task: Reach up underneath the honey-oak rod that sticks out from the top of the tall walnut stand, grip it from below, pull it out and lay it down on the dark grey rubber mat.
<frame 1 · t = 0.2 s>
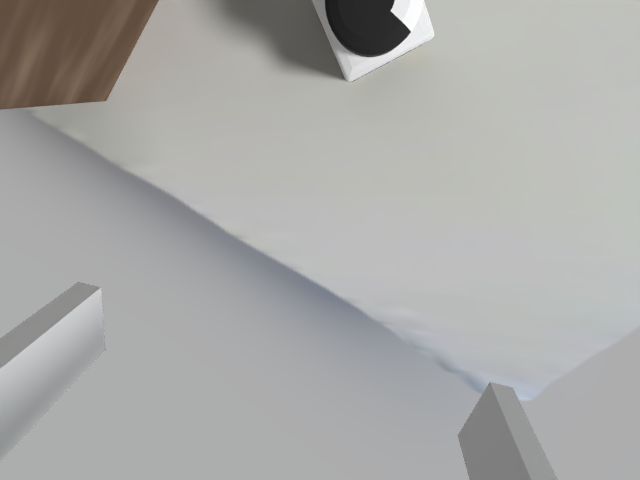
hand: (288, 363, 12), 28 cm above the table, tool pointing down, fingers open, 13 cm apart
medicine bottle: (369, 25, 32), on the table
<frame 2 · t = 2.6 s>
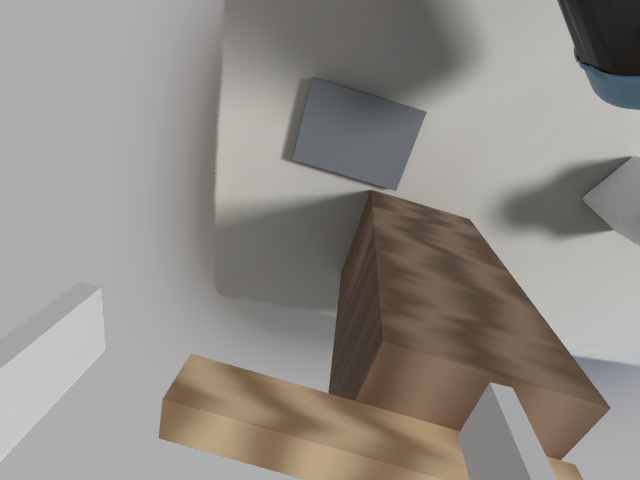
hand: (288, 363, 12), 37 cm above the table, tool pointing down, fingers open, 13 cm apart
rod: (375, 426, 23), point 30 cm above the table, touching stand
stand: (401, 248, 50), on the table
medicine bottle: (622, 194, 44), on the table
mat: (356, 135, 44), on the table
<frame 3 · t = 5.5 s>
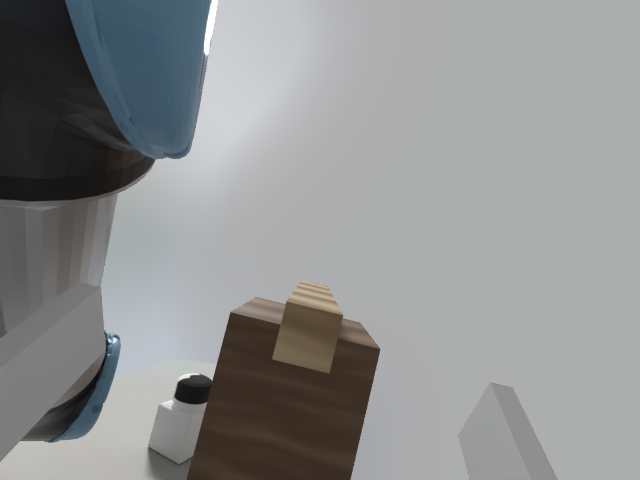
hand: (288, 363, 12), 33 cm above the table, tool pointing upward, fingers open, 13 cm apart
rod: (305, 326, 34), point 30 cm above the table, touching stand
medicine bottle: (178, 448, 60), on the table
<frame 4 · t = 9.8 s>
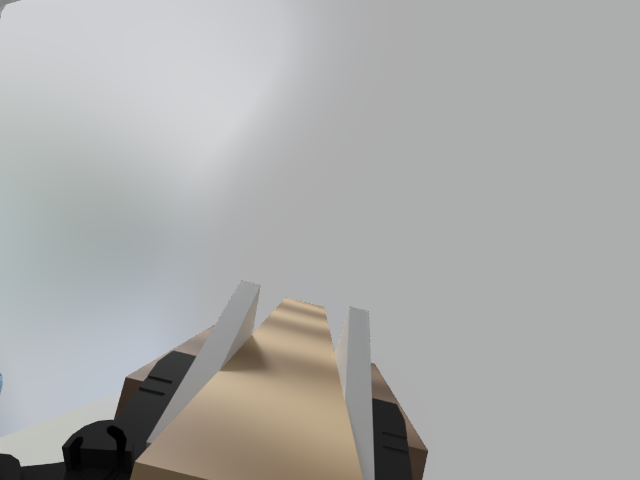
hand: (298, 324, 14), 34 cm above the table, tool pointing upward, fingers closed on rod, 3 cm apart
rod: (281, 396, 18), point 30 cm above the table, touching gripper
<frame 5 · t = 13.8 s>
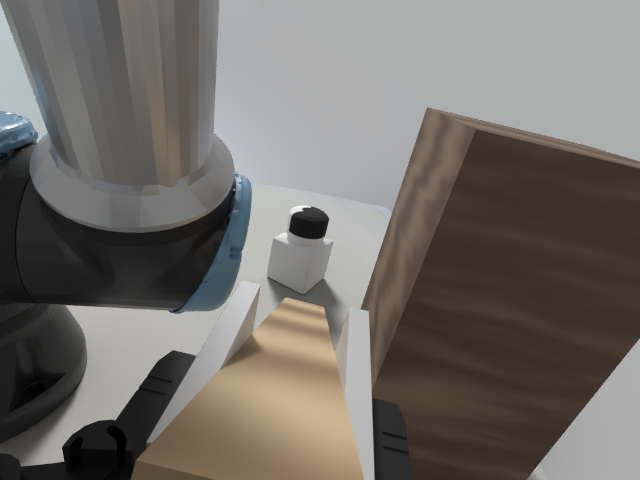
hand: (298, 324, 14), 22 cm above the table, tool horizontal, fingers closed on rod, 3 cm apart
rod: (281, 396, 18), point 16 cm above the table, tilted 30°, touching gripper
stand: (405, 427, 36), on the table
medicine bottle: (295, 278, 58), on the table
when the fingers open (8 cm above the table, at t = 16.8 s): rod drops 2 cm, resting on mat.
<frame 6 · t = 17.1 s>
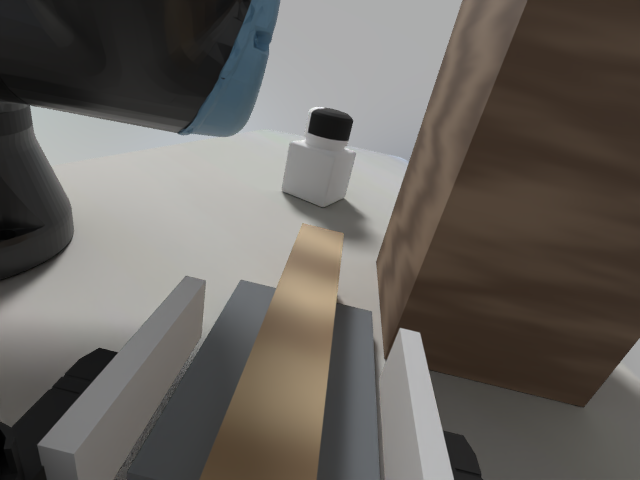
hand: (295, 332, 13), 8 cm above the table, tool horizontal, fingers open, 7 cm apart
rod: (284, 382, 19), point 1 cm above the table, touching mat
stand: (458, 319, 30), on the table
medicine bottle: (313, 196, 51), on the table
mat: (284, 384, 20), on the table
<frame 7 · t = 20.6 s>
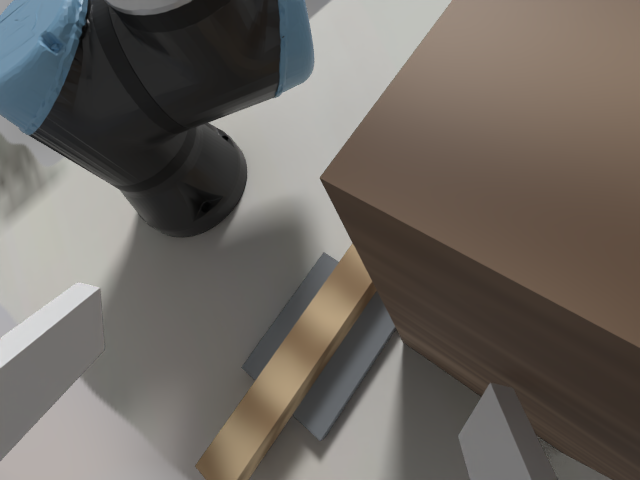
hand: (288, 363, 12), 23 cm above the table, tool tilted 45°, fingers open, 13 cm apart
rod: (315, 348, 33), point 1 cm above the table, touching mat
stand: (515, 323, 31), on the table
mat: (325, 339, 35), on the table
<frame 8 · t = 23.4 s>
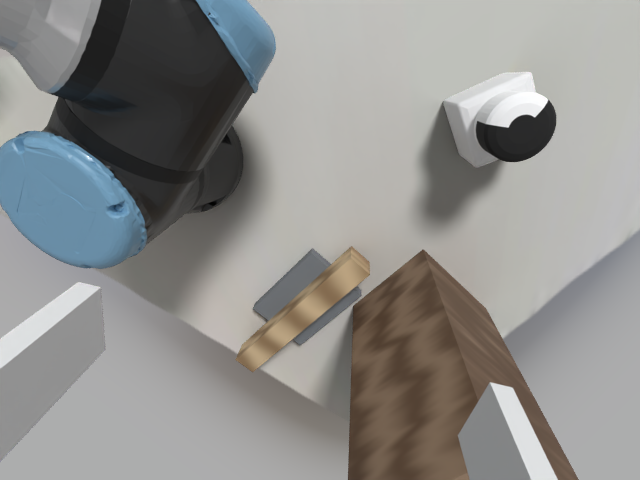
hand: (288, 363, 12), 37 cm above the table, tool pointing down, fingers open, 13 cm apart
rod: (300, 306, 54), point 1 cm above the table, touching mat
stand: (418, 307, 54), on the table
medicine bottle: (480, 115, 42), on the table
mat: (306, 296, 55), on the table
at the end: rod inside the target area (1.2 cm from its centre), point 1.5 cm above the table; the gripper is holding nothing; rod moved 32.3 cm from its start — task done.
